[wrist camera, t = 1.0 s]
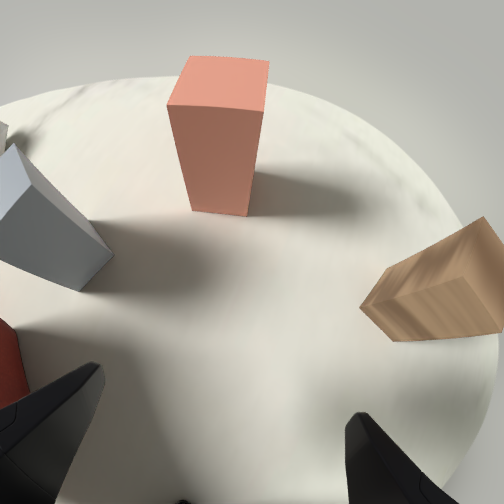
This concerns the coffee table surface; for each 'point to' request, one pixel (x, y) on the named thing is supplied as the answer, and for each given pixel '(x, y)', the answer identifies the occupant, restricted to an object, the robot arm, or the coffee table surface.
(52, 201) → the slate pillar
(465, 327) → the walnut pillar
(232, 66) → the salmon block
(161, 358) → the coffee table surface
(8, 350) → the plant pot
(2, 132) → the die
